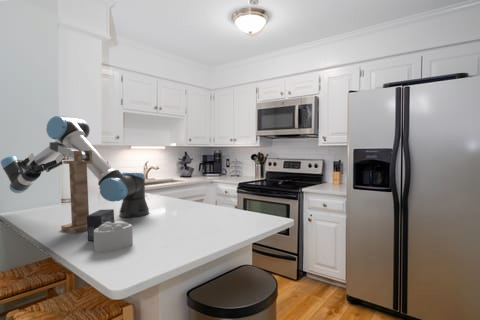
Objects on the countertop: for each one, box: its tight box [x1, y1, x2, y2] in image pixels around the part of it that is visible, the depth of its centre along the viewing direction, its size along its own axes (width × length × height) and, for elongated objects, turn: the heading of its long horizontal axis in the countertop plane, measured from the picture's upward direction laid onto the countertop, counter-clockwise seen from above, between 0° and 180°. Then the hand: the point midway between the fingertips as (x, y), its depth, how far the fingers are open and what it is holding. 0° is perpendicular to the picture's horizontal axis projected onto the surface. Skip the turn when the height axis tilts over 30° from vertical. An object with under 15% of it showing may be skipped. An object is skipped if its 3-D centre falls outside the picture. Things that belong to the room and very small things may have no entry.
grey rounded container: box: [93, 220, 134, 253], centre depth 104 cm, size 10×13×9 cm
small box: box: [87, 208, 115, 242], centre depth 115 cm, size 11×6×10 cm, turn 178°
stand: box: [60, 150, 93, 235], centre depth 126 cm, size 12×11×36 cm
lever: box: [48, 141, 88, 160], centre depth 129 cm, size 26×3×3 cm, turn 63°
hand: (48, 155), depth 136 cm, fingers open, 13 cm apart
